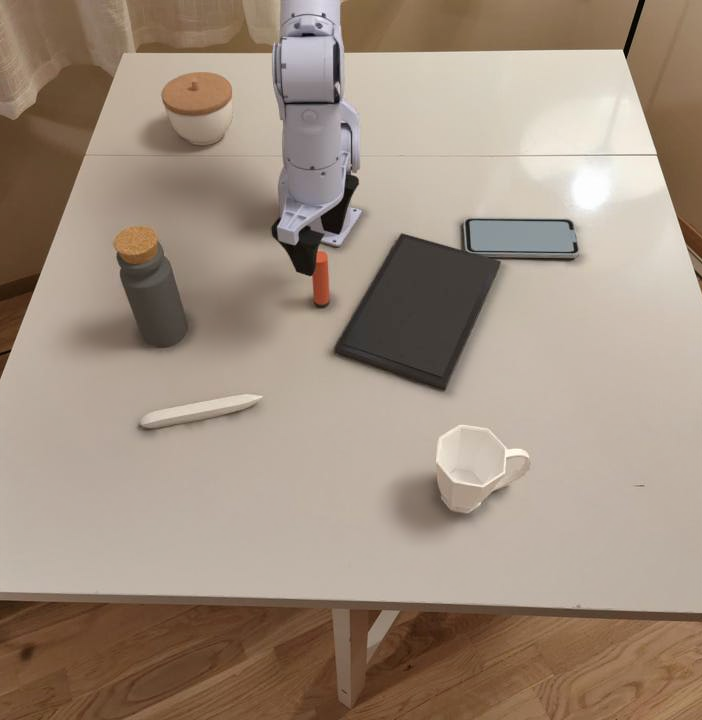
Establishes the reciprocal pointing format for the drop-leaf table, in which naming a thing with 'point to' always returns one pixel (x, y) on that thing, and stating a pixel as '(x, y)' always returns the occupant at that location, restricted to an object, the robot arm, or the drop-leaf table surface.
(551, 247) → the smartphone
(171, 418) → the pen
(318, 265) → the orange cylinder
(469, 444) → the cup
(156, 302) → the bottle
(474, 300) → the tablet
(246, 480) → the drop-leaf table surface
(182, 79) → the trinket box
